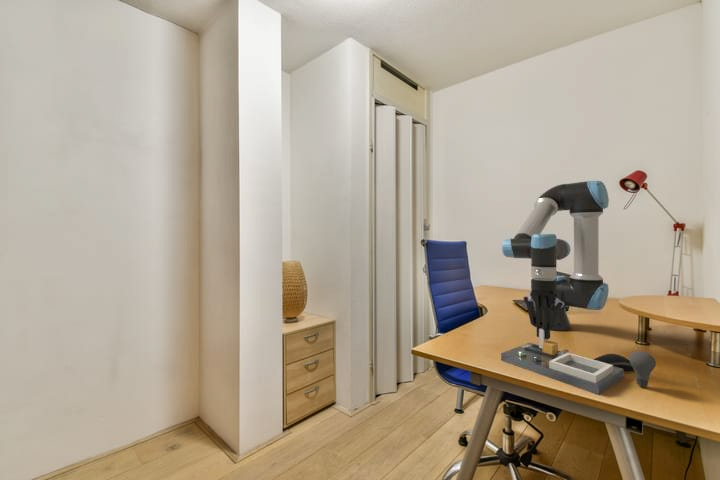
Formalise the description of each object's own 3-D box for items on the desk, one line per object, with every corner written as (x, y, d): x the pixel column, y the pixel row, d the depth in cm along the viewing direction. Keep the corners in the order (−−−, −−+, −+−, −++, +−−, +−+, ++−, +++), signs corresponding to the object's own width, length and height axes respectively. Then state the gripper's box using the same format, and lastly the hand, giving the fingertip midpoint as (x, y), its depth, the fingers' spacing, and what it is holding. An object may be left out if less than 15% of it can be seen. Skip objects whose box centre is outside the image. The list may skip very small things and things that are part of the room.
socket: (567, 358, 102) (567, 352, 102) (613, 372, 92) (613, 365, 92) (549, 367, 95) (549, 361, 95) (595, 383, 85) (595, 375, 85)
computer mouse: (585, 362, 106) (585, 350, 106) (625, 364, 104) (625, 351, 104) (598, 371, 99) (598, 359, 99) (641, 373, 97) (641, 360, 97)
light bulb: (658, 388, 87) (659, 352, 87) (651, 393, 84) (651, 356, 84) (633, 380, 92) (633, 346, 92) (625, 385, 89) (625, 350, 89)
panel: (529, 349, 117) (529, 337, 117) (623, 377, 94) (623, 362, 94) (501, 360, 107) (501, 347, 107) (598, 394, 84) (598, 378, 84)
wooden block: (548, 350, 109) (548, 340, 109) (557, 353, 106) (557, 343, 106) (542, 353, 107) (542, 342, 107) (552, 356, 104) (552, 345, 104)
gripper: (518, 277, 111) (518, 344, 112) (558, 282, 100) (558, 355, 101) (530, 276, 115) (530, 340, 116) (569, 280, 104) (569, 350, 105)
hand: (543, 347), depth 108 cm, fingers closed
